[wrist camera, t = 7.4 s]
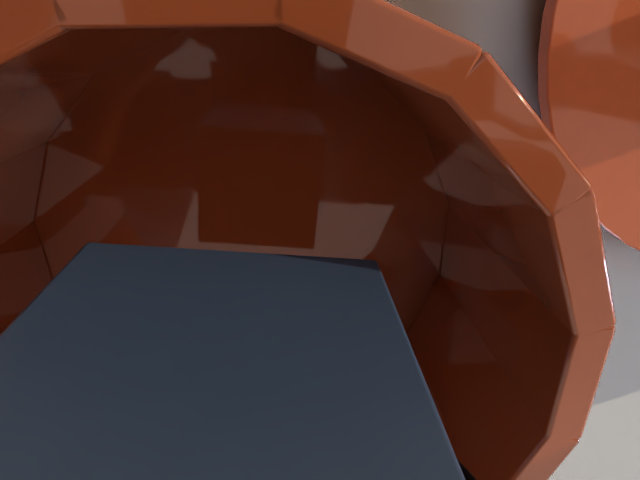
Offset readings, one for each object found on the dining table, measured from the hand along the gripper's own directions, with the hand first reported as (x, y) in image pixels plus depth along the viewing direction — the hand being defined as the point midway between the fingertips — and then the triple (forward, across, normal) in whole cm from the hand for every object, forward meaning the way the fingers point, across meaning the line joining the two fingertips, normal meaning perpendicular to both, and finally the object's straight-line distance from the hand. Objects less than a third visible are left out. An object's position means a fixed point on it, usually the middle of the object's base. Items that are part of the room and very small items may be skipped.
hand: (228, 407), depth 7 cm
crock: (+6, 0, 0) cm, 6 cm away
